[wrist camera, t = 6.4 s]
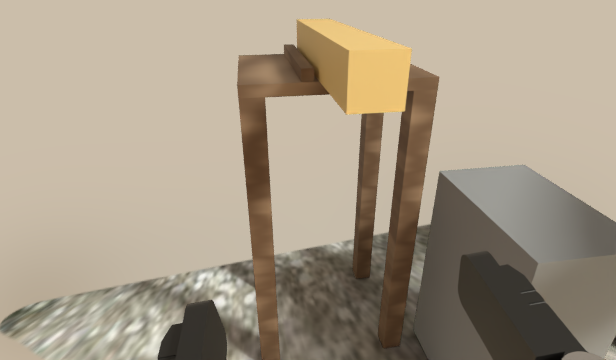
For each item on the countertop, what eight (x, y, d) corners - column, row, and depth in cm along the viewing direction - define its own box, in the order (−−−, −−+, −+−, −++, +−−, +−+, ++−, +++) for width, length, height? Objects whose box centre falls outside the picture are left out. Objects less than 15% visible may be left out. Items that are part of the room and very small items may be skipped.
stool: (365, 268, 57) (383, 41, 43) (399, 345, 45) (441, 64, 30) (257, 279, 55) (237, 45, 40) (262, 364, 43) (236, 71, 28)
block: (481, 320, 48) (524, 164, 38) (564, 436, 36) (658, 249, 26) (413, 329, 47) (439, 171, 37) (474, 452, 34) (538, 263, 25)
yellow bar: (329, 53, 42) (329, 18, 40) (404, 111, 22) (411, 48, 21) (297, 54, 41) (296, 19, 40) (346, 114, 22) (349, 50, 20)
